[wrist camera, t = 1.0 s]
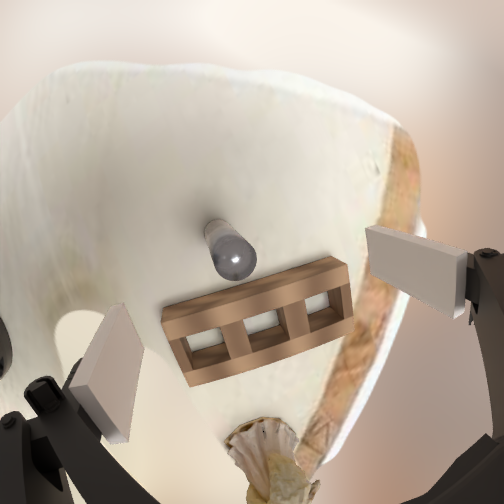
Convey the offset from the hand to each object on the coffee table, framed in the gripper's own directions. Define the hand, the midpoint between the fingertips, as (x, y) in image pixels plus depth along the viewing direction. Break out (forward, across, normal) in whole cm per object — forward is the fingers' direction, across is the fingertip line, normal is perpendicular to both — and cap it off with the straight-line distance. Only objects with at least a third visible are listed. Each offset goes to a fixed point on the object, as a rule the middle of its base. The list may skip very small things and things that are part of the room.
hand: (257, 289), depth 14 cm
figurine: (+19, -3, -34) cm, 39 cm away
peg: (+18, 0, 0) cm, 18 cm away
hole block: (+18, +2, -11) cm, 22 cm away
